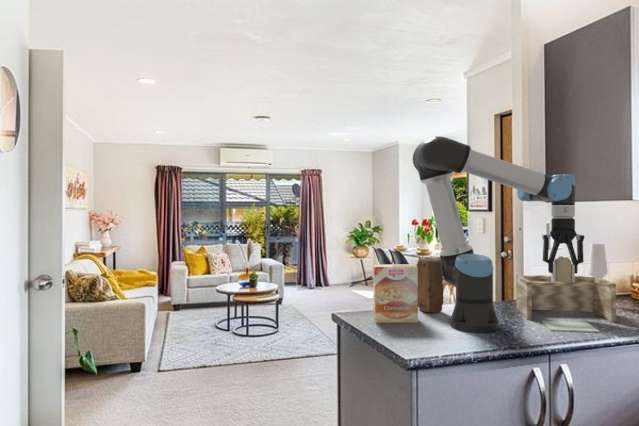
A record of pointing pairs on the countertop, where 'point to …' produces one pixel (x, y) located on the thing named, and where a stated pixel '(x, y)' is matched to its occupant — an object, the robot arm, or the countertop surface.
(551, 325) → the mat
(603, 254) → the champagne flute
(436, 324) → the countertop surface
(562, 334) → the countertop surface
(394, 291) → the coffeecake box
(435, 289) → the block
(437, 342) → the countertop surface
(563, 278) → the candle
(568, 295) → the access cubby
